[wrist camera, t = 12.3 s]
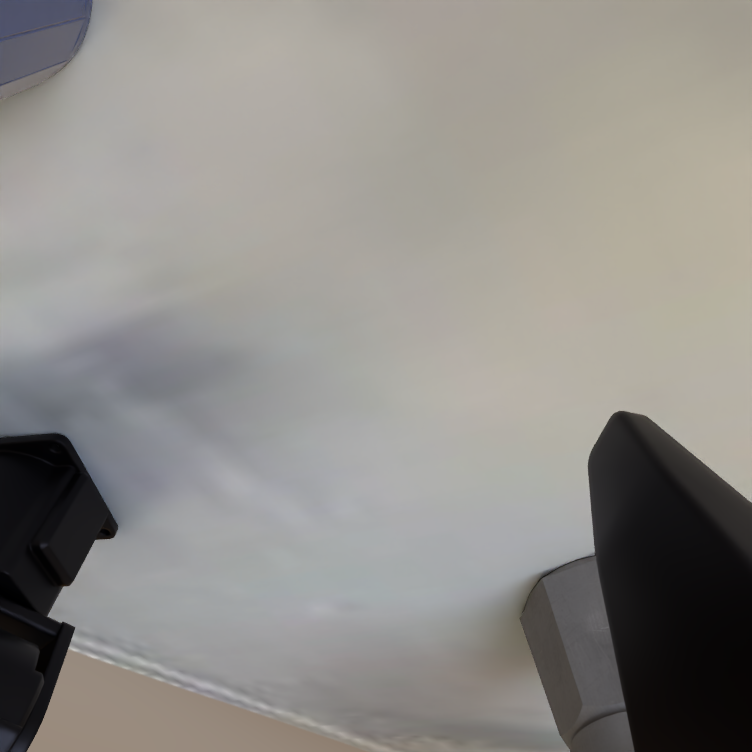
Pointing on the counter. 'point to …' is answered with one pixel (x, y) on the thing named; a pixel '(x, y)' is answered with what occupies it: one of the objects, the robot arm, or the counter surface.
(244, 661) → the counter surface
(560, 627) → the coffeepot
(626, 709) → the robot arm
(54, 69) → the holder cup
